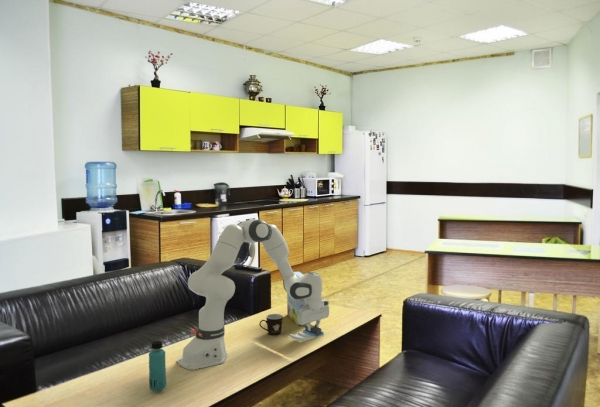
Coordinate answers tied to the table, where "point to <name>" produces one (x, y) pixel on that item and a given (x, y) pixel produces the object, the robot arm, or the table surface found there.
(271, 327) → the coffee mug
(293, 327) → the table surface
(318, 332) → the grey rectangular prism
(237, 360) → the table surface
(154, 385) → the beverage bottle
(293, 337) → the white ridged tray
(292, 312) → the snack box
